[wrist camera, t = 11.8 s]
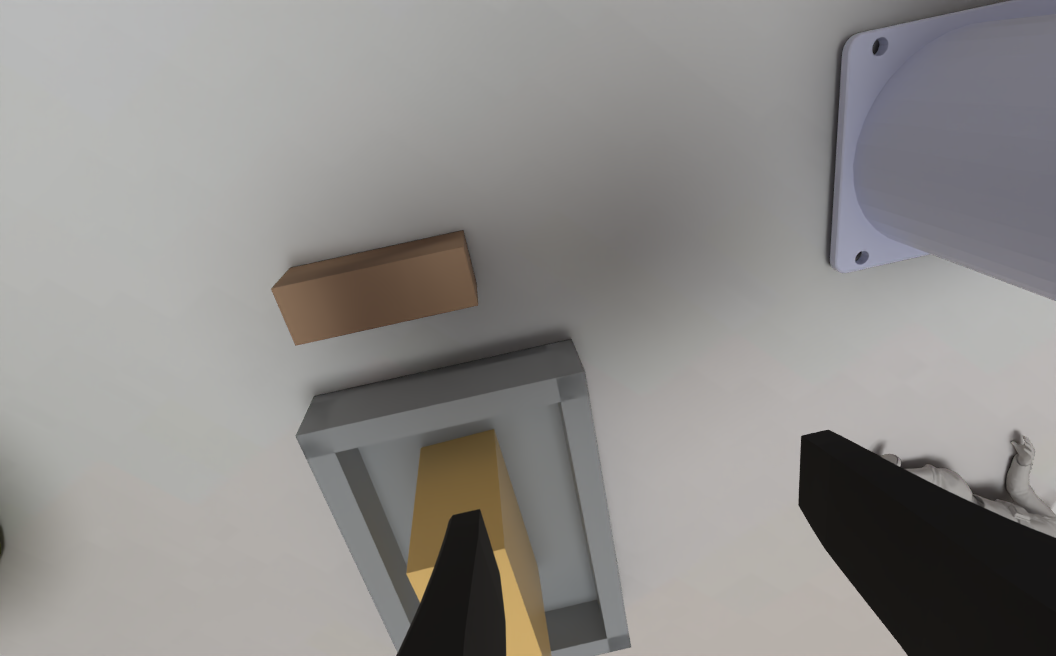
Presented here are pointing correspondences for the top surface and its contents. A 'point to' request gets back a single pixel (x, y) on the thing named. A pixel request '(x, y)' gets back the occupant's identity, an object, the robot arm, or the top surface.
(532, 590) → the block
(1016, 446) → the soldier figure
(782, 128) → the top surface
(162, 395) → the top surface
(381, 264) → the brown block pair
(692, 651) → the top surface
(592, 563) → the tray
